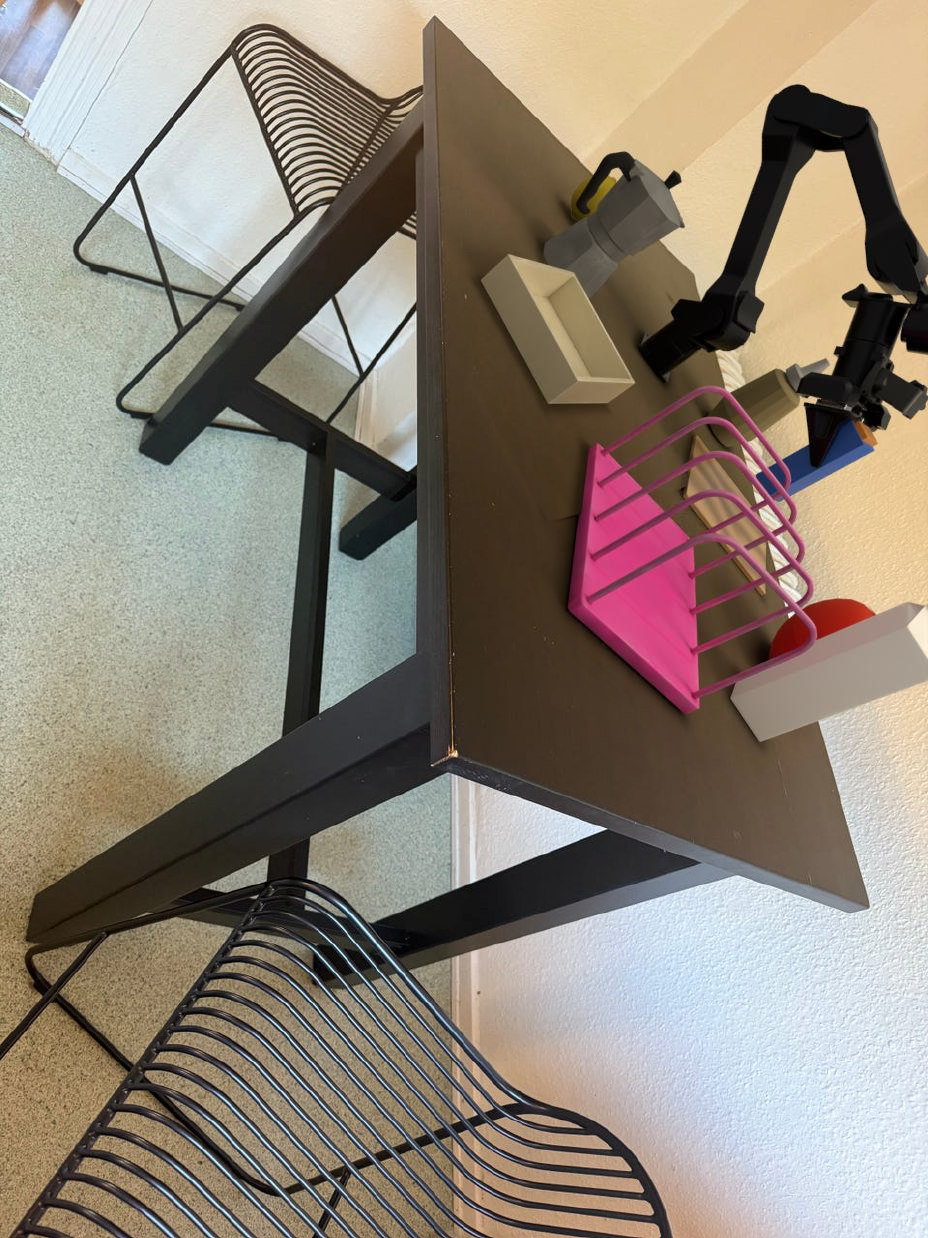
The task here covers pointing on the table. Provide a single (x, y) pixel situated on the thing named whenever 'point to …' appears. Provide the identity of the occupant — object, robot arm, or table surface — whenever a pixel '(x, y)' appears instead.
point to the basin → (557, 332)
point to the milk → (838, 673)
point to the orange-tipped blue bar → (844, 451)
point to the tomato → (818, 623)
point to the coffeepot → (615, 221)
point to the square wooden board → (723, 509)
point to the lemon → (594, 201)
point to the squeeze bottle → (763, 401)
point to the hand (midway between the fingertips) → (821, 469)
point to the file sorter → (670, 562)
